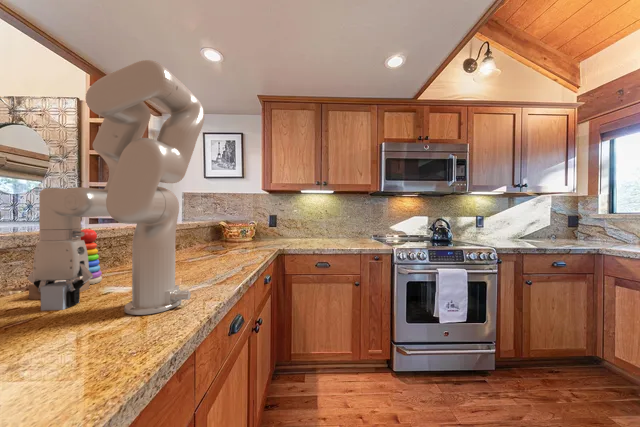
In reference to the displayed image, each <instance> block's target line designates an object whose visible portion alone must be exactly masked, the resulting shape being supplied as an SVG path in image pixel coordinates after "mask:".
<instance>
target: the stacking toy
mask: <svg viewBox="0 0 640 427" xmlns="http://www.w3.org/2000/svg"><path fill="white" fill-rule="evenodd" d="M81 232H84V233H85V235H84V236H81V240H84V242H85V245H86V248H87V253H88V262H89V271H90V272H91V273H92V274H93V277H92V278H91V279H90V280H89V286H91V285H90V284H92V285H95V283H96V284H98V283H100V282H102V280H103V276H101V275H103V274H102V273H103V272H102V271H101V266H100V265H99V264H100V260H99V254H98V253H99V250H98V249H97V246H98V244H97V243H96V242H95V241H96V240H97V238H98V235H97V234H98V233H97V232H96V231H95V230H94V229H91V228H85V229H81Z"/></svg>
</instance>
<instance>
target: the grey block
mask: <svg viewBox="0 0 640 427" xmlns="http://www.w3.org/2000/svg"><path fill="white" fill-rule="evenodd" d="M73 282H74V281H73ZM74 284H75V282H74ZM67 291H69V289H68V286H67V282H66V281H58V282H55V283H52V284H48V285H45V286H42V287H41V299H40V311H42V312H43V311H63V310H66V309H68V308H69V307H67Z"/></svg>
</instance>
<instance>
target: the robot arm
mask: <svg viewBox="0 0 640 427" xmlns="http://www.w3.org/2000/svg"><path fill="white" fill-rule="evenodd" d="M145 101H150V102H152V103H153V104H155V105H157V106H158V107H160V109H162V110H164V111H166V112H167V113H169V114H170V116H169V117H168V118H167V119H166V120H165V121H164V122H163V124H162V126H161V127H160V130H159V133H158V136H157V139H154V138H149V137H144V134H145V132H146V130H147V127H148V125H149V123H150V120H151V115H152V114H151V110H150V108H149V106H148V105H147V104H146V103H145ZM85 103H86V106H87V107H88V108H89V110H91V111H92V112H93V113H94V114H95V115H98V116H100V117H102V118H103V120H102V122H101V125H100V126H99V129H98V131H97V133H96V136H95V138H94V140H93V142H92V149H93V150H94V152H95V153H97V154H98V155H99V156H100V157H101V158H102V159H103V160H104V162H105V164H106V165H107V167H108V171H109V173H108V175H109V176H108V180H107V182H106V185H105V187H104V188H95V187H93V188H92V187H80V186H79V187H77V186H76V187H70V188H56V187H52V188H51V187H49V188H48V187H47V188H44V189H41V190H40V192H39V194H38V195H39V201H38V202H39V206H38V207H39V209H38V210H39V213H38V214H39V218H38V219H39V223H38V224H39V230H38V231H39V239H38V240H39V241H37V243H36V246H35V250H34V256H33V261H32V262H33V264H32V271H31V273H30V274H29V275H28V276H27V277H26V279H27V281H29V282H31V284H33V283H34V285H35V286H36V287H37V288H38V291H39V292H41V287H42V286H45V285H48V284H52V283H55V280H66V282H67V286H68V289H69V291H67V307H68V308H70V307H73V306H76V305H77V304H80V299H81V298H80V297H81V296H80V295H81V294H80V293H81V292H80V288H82V286H83V285H84V284H85V283H86V282H87V281H88V280H90V279H91V278H92V277H93V274H92V273H91V272H90V271H89V262H88V253H87V248H86V245H85V242H84V240H81V236H84V235H85V233H84V232H81V230H82V229H81V228H82V227H81V226H82V223H81V222H82V218H95V217H111V219H113V220H114V221H116V222H119V223H120V224H121V223H122V224H126V225H135V224H136V226H135V228H134V232H133V235H132V243H131V244H132V245H131V246H132V248H131V250H132V251H131V255H132V258H131V261H132V262H131V264H132V265H131V267H132V268H131V273H132V274H131V275H132V276H131V278H132V279H131V280H132V281H131V288H132V289H131V298H132V299H131V301H129V302H127V303H126V304H125V305H124V307H123V308H124V313H126V314H127V315H131V316H132V315H133V316H134V315H135V316H144V315H145V316H146V315H152V314H153V315H154V314H158V313H163V312H165V311H168V310H173V309H175V308H176V307H179V306H180V305H181V304H182V300H183V301H184V300H185V301H186V300H190V299H191V295H192V294H191V291H190V289H189V290H188V289H187V290H186V289H184V290H181V289H180V285H177V284H176V239H177V238H176V237H177V236H176V235H177V224H178V218H179V213H180V204H179V200H178V198H177V195H175V193H174V192H173V191H171V190H169V189H167V188H166V187H162V186H159V183H163V184H177V183H179V182H180V181H182V179H184V177H185V175H186V173H187V170H188V168H189V164H190V161H191V159H192V156H193V153H194V150H195V148H196V144H197V141H198V138H199V136H200V133H201V132H202V129H203V126H204V123H205V110H204V106H203V104H202V103H201V101H200V100H199V99H198V98H197V97H196V95H195V94H194V93H193V92H192V91H191V90H190V89H189V88H188V87H187V86H186V85H185V84H184V83H183V82H182V81H181V80H180V79H179V78H177V77H176V76H175V75H174V74H173V73H172V72H171V71H170V70H169V69H168V68H167V67H165V65H163V64H162V63H160V62H157V61H155V60H151V59H145V60H143V59H142V60H139V61H136V62H134V63H132V64H128V65H127V66H124V67H122V68H119V69H118V70H116V71H112V72H110V73H108V74H107V75H105V76H102V77H101V78H99V79H97V80H96V81H94V82H93V83H92V84H91V85H90V86H89V88H88V89H87V90H86V94H85ZM80 276H83V277H82V278H81V279H80ZM73 280H74V282H75V284H74V282H73Z"/></svg>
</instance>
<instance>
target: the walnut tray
mask: <svg viewBox="0 0 640 427" xmlns="http://www.w3.org/2000/svg"><path fill="white" fill-rule="evenodd" d="M82 277H83V276H80V279H81V278H82ZM58 281H66V280H55V282H58ZM73 281H74V280H73ZM89 289H90V285H89V280H88V281H87V282H86V283H85V284H84V285H83V286H82V288H80V293H82V292H84V290H85V291H86V290H89ZM28 300H41V292H39V291H38V288H37V287H36V286H35V285H34V283H31V284H29V285H28Z"/></svg>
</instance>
